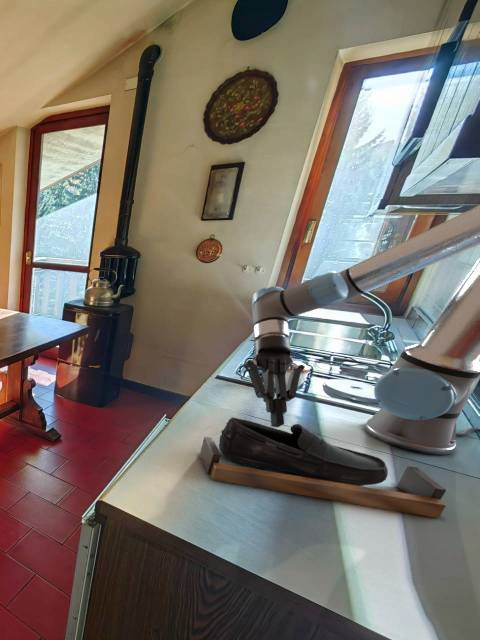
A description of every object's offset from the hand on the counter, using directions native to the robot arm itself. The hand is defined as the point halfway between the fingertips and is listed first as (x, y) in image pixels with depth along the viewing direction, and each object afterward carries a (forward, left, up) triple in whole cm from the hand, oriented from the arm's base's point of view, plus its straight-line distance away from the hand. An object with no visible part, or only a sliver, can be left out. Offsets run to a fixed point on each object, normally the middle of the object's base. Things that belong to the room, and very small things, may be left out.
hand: (277, 425), depth 95 cm
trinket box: (-17, -41, -4) cm, 45 cm away
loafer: (+1, +13, -4) cm, 14 cm away
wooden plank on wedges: (0, +18, -4) cm, 19 cm away
